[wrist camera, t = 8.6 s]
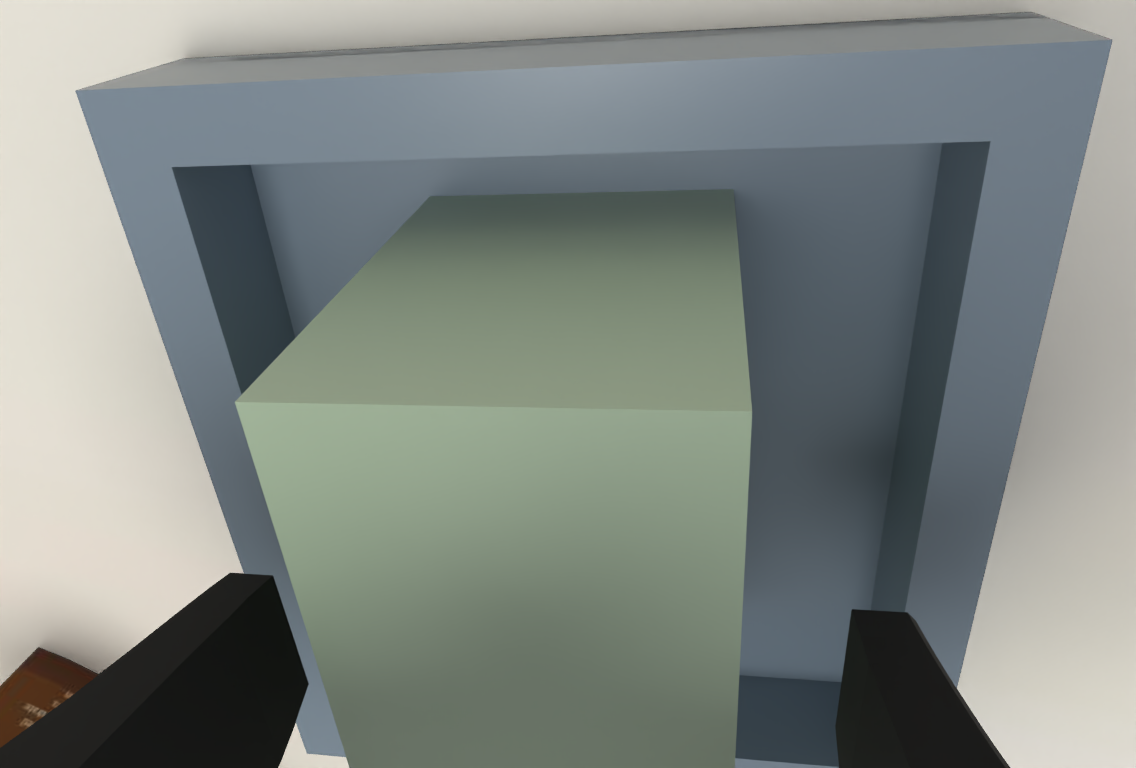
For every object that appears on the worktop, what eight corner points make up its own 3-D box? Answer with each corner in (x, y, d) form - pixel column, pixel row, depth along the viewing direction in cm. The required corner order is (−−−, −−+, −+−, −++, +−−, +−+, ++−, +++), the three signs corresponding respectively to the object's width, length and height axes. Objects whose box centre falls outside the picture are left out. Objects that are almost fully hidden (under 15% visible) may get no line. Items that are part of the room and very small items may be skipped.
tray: (1031, 12, 11) (1112, 39, 8) (900, 696, 17) (927, 810, 15) (183, 58, 13) (75, 90, 10) (352, 657, 19) (307, 753, 17)
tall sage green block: (733, 189, 12) (752, 412, 7) (720, 602, 16) (726, 942, 11) (430, 196, 12) (235, 401, 7) (490, 589, 16) (391, 902, 11)
